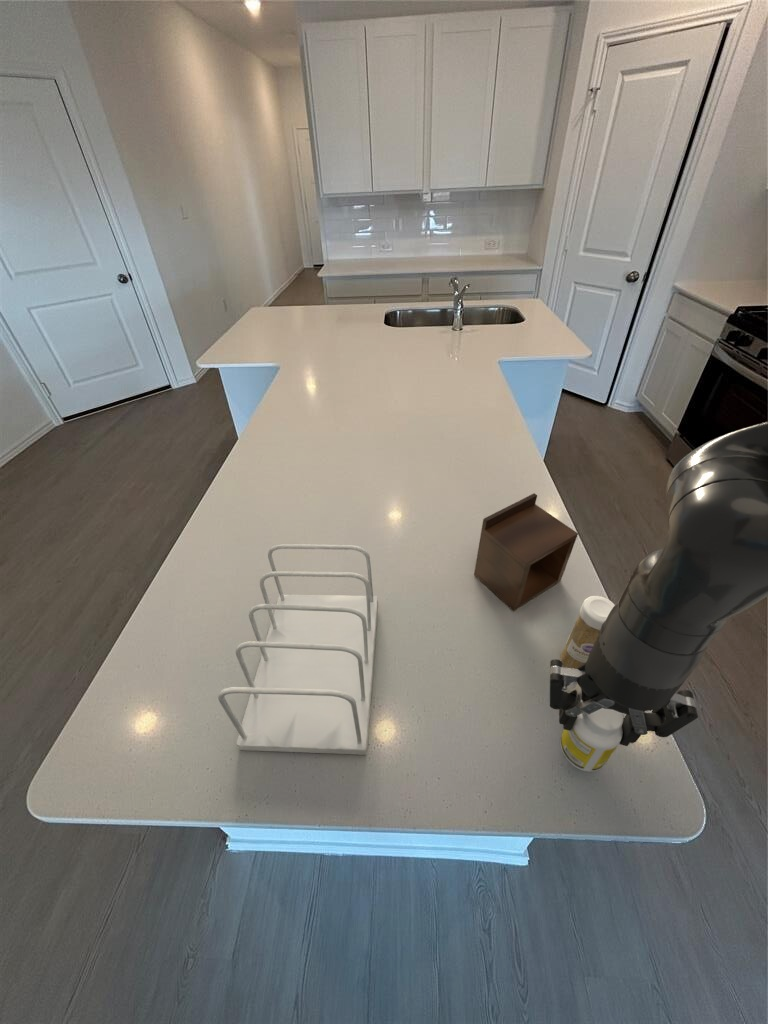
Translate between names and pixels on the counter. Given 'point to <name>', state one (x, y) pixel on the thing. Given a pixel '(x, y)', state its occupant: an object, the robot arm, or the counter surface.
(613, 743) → the supplement bottle
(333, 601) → the file sorter
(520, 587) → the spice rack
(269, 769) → the counter surface
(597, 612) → the sprinkles bottle
